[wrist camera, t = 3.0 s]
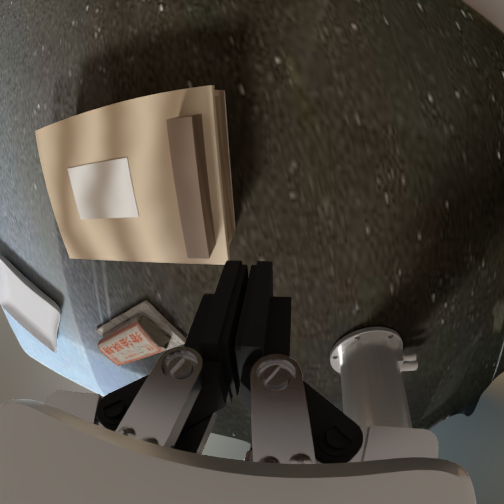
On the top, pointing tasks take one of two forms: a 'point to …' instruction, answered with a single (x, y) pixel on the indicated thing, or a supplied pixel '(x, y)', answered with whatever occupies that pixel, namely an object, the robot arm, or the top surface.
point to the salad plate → (29, 305)
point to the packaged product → (137, 335)
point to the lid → (139, 180)
